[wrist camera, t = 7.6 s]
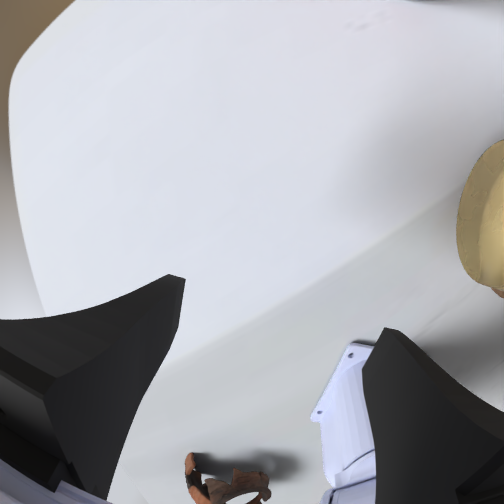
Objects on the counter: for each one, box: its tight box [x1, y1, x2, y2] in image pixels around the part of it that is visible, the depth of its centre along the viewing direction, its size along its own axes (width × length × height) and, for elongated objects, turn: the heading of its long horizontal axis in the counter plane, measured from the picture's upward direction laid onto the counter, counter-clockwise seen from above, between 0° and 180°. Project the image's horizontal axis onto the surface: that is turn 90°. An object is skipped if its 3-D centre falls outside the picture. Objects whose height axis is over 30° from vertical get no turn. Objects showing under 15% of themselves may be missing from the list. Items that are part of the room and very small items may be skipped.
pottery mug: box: [185, 453, 271, 504], centre depth 29 cm, size 12×10×8 cm
